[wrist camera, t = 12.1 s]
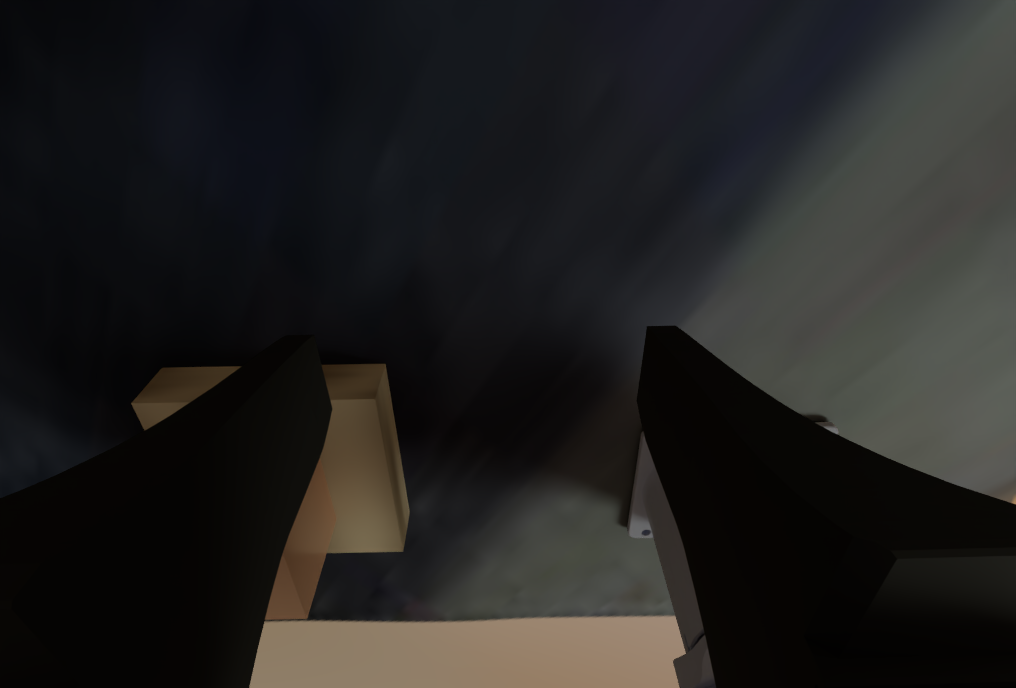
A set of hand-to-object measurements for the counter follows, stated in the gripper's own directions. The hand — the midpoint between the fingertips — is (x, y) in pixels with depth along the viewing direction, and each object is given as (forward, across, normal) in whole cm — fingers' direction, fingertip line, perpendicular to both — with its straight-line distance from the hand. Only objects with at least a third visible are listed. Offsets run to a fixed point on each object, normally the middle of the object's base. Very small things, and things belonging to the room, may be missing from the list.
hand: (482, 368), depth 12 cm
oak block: (+11, +10, +12) cm, 19 cm away
